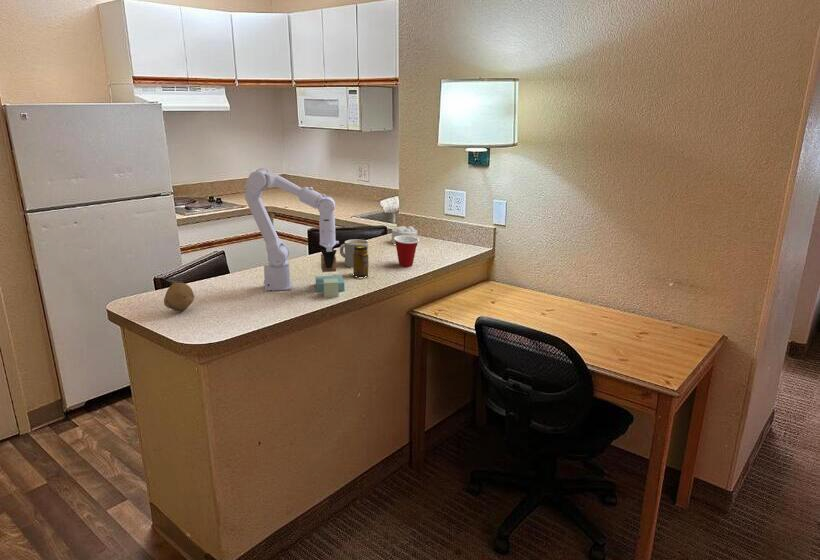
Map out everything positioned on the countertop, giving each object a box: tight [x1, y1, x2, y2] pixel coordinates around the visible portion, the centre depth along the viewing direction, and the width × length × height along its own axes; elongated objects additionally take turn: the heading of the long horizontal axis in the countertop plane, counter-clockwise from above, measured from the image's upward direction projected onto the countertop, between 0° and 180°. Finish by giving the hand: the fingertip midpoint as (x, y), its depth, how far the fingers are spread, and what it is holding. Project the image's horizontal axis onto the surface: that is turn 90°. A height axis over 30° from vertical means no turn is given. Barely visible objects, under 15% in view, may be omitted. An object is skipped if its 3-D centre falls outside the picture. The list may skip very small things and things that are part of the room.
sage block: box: [323, 278, 340, 298], centre depth 208 cm, size 5×5×6 cm
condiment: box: [349, 245, 375, 280], centre depth 231 cm, size 7×8×12 cm
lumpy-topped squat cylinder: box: [391, 225, 418, 244], centre depth 283 cm, size 10×13×9 cm
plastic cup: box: [394, 236, 420, 268], centre depth 246 cm, size 11×11×12 cm
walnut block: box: [320, 253, 337, 273], centre depth 215 cm, size 5×5×6 cm
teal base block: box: [315, 274, 345, 293], centre depth 217 cm, size 10×10×4 cm
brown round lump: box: [163, 282, 195, 312], centre depth 189 cm, size 9×9×10 cm
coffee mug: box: [339, 238, 369, 268], centre depth 248 cm, size 13×10×10 cm
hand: (328, 265), depth 215 cm, fingers closed on walnut block, 5 cm apart
